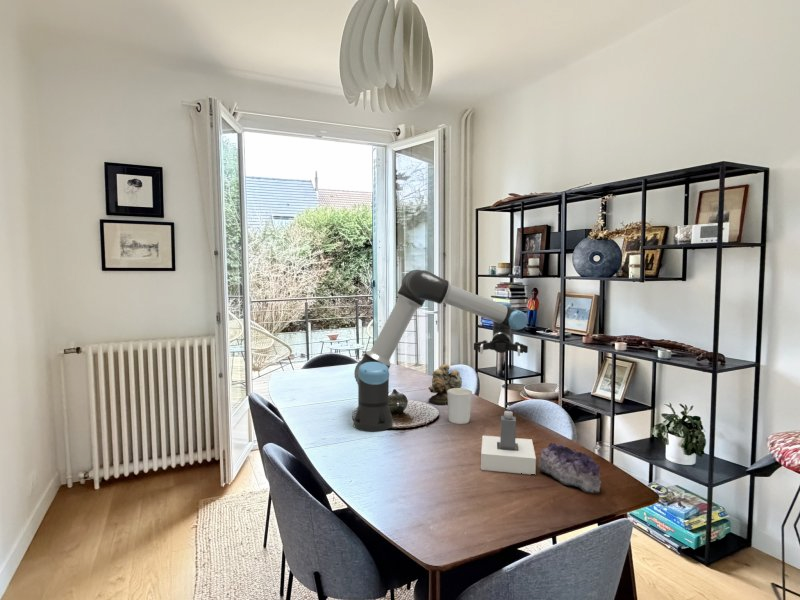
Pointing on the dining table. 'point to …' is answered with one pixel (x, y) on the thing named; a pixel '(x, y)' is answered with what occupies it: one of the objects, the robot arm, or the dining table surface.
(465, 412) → the candle holder
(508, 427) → the plug
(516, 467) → the socket block
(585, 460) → the geode
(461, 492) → the dining table surface
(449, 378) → the olive rock sculpture
